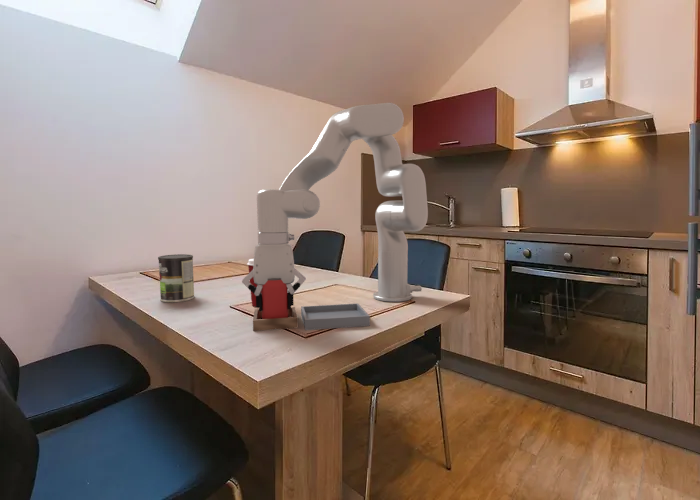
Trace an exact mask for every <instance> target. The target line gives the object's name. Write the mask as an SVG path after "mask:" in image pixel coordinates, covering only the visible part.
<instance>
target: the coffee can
mask: <svg viewBox="0 0 700 500" xmlns="http://www.w3.org/2000/svg"><path fill="white" fill-rule="evenodd" d="M157 259H158V272H159V273H158V275H159V291H160V302H163V303H181V302H182V303H183V302H187V301H192V300H193V299H195V287H194V286H195V285H194V284H195V281H194V263H193V260H194V255H193V254H186V253H185V254H182V253H181V254H166V255H159V256H158V257H157Z"/></svg>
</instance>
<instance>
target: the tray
mask: <svg viewBox="0 0 700 500" xmlns="http://www.w3.org/2000/svg"><path fill="white" fill-rule="evenodd" d="M300 311H301V312H300V313H301V314H300V315H301V320H302V323H303V326H304V329H305V331H312V330H313V331H314V330H315V331H316V330H325V329H343V328H357V327H370V324H371V321H370V320H371V318H370V317H371V316H370V314H368V312H367V311H366V310H365V309H364V308H363V307H362V306H361V305H360V303H339V304H325V305H323V304H322V305H306V306H304V305H303V306H301V307H300Z"/></svg>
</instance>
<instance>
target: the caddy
mask: <svg viewBox="0 0 700 500" xmlns="http://www.w3.org/2000/svg"><path fill="white" fill-rule="evenodd" d="M261 318H262V311H259V308H256V309H254V311H253V317H252V330H253V332H254V331H255V332H256V331H271V330H286V329H287V328H288V329H298V327H299V325H298V324H299V323H298V320H299V319H298V314H297V309H296V307H295V306H291V310H289V309H288V318H272V319H261ZM288 329H287V330H288Z"/></svg>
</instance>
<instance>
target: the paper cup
mask: <svg viewBox="0 0 700 500" xmlns="http://www.w3.org/2000/svg"><path fill="white" fill-rule="evenodd" d="M246 265H247V266H248V267H247V268H248V274H249V273H250V272H251V271H252V270H253V265H254V258H249V259H248V262H247V263H246ZM249 281H250V283H251V284H253V285H254V286H255V287H257V284H255V283H254V276H253V277H252V278H251V279H250V280H249ZM250 300H251V306H252V307H254V306H255V308H257V307H256V296H255V294H254V293H253V292H251V291H250Z"/></svg>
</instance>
